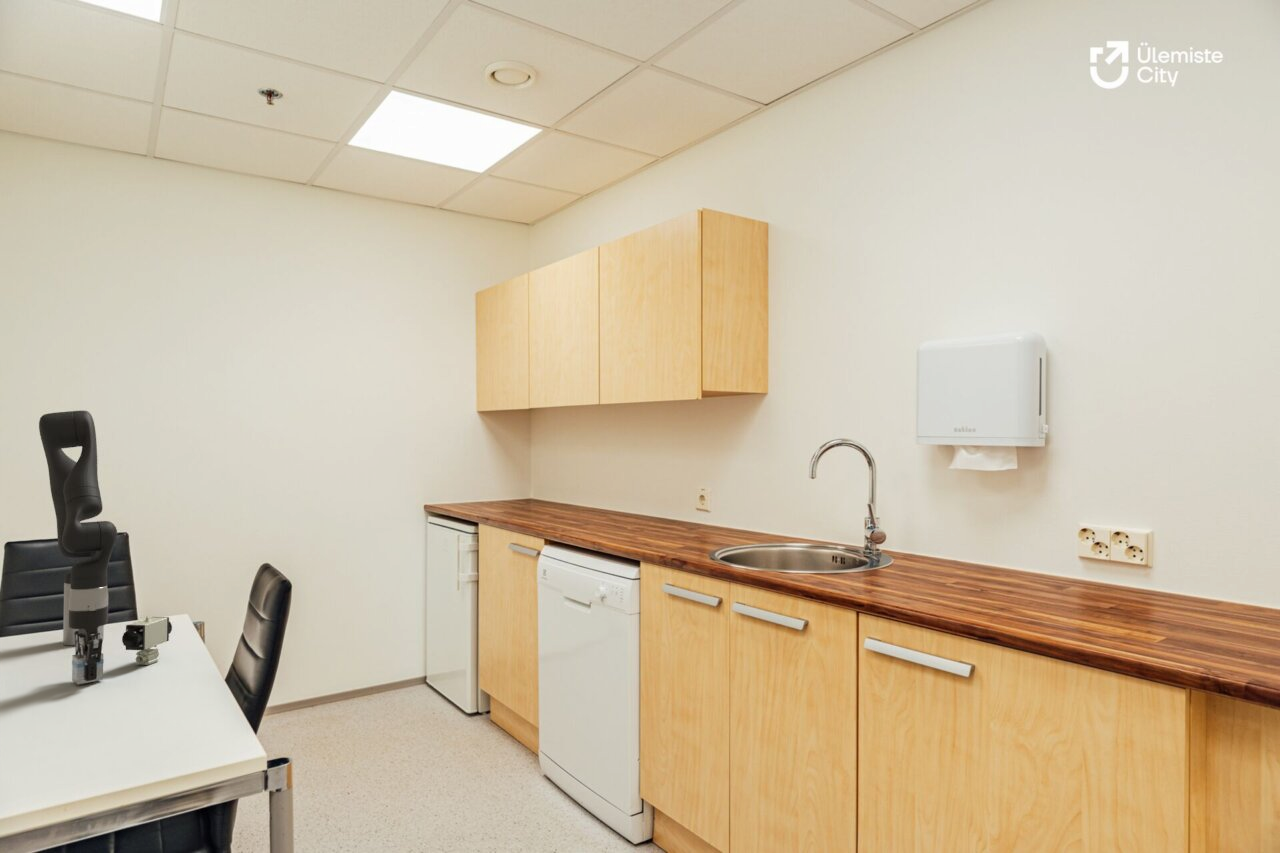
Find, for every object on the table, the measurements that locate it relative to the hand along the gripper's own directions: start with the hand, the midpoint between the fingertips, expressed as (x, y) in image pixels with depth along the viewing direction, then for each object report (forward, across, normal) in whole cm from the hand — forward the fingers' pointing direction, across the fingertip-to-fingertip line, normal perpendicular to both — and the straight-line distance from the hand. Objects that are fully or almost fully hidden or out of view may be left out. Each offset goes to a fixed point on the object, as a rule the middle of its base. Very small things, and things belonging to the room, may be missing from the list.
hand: (87, 677), depth 175 cm
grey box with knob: (+1, 0, 0) cm, 1 cm away
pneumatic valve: (+2, -7, +14) cm, 16 cm away
